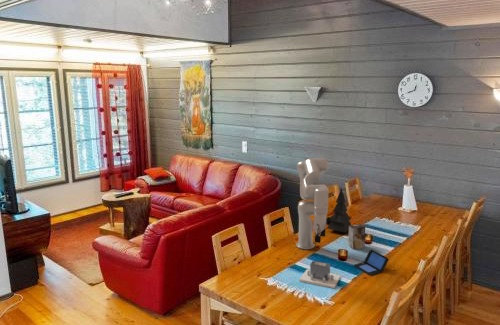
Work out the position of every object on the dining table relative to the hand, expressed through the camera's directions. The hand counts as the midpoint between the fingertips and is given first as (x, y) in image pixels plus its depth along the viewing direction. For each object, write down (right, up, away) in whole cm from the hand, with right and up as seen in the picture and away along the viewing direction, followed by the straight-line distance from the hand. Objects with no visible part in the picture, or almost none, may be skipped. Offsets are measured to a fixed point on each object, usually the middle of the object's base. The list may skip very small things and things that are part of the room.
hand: (320, 239), depth 223 cm
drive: (0, -22, +2) cm, 22 cm away
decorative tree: (+28, -10, +75) cm, 81 cm away
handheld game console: (+33, -21, +14) cm, 41 cm away
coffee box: (+33, -15, +45) cm, 58 cm away
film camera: (+28, -7, +92) cm, 97 cm away
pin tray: (0, -23, +2) cm, 23 cm away
